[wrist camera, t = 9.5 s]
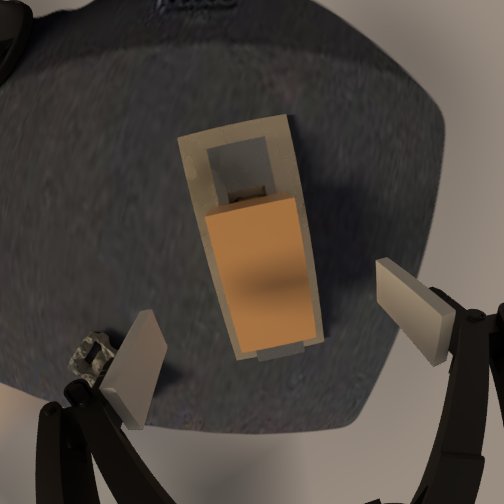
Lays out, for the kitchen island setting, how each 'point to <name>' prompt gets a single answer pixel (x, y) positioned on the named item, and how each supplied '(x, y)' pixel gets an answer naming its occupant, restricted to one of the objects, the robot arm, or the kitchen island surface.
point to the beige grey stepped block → (244, 185)
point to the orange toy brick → (263, 270)
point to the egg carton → (94, 369)
